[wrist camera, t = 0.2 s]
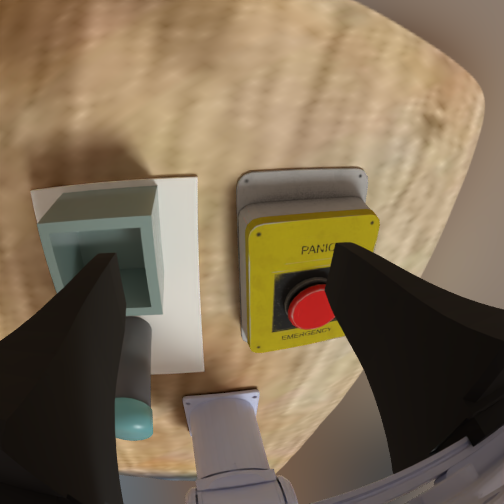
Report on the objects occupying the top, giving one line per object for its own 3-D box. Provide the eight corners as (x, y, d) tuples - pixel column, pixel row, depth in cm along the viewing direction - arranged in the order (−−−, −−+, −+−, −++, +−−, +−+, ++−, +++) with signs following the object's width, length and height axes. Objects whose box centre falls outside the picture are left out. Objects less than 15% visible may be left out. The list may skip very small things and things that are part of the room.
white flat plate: (204, 369, 28) (204, 371, 27) (91, 373, 25) (91, 374, 25) (197, 176, 18) (197, 177, 18) (31, 190, 16) (30, 191, 16)
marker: (155, 342, 24) (157, 440, 17) (118, 343, 24) (110, 440, 16) (150, 314, 23) (147, 418, 15) (110, 315, 22) (95, 417, 14)
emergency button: (250, 378, 23) (247, 195, 15) (240, 339, 27) (234, 170, 19) (356, 355, 25) (401, 188, 17) (337, 322, 29) (365, 165, 21)
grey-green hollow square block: (164, 270, 21) (163, 314, 17) (81, 274, 20) (65, 317, 16) (157, 184, 18) (151, 215, 14) (63, 192, 17) (36, 224, 13)
